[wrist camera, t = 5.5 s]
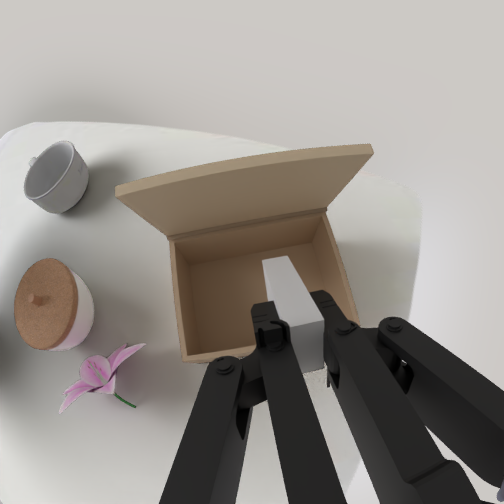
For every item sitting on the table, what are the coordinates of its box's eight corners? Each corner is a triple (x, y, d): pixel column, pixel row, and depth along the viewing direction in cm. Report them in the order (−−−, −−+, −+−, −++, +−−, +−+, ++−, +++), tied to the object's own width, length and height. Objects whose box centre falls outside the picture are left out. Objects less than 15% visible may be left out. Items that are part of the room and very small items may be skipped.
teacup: (106, 185, 39) (84, 153, 32) (61, 234, 36) (31, 209, 29) (74, 156, 43) (55, 128, 36) (35, 196, 40) (12, 172, 33)
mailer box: (340, 334, 30) (360, 325, 23) (199, 363, 29) (182, 362, 22) (313, 240, 34) (324, 210, 28) (185, 264, 34) (169, 239, 27)
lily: (180, 352, 30) (127, 306, 24) (167, 448, 22) (96, 424, 16) (112, 356, 34) (63, 319, 27) (95, 433, 25) (34, 405, 19)
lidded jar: (53, 280, 33) (12, 256, 25) (110, 276, 33) (70, 247, 25) (48, 353, 29) (1, 342, 20) (107, 358, 29) (61, 351, 20)
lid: (376, 158, 16) (370, 142, 16) (115, 202, 15) (115, 184, 15) (325, 212, 28) (323, 201, 28) (169, 241, 27) (167, 230, 27)
